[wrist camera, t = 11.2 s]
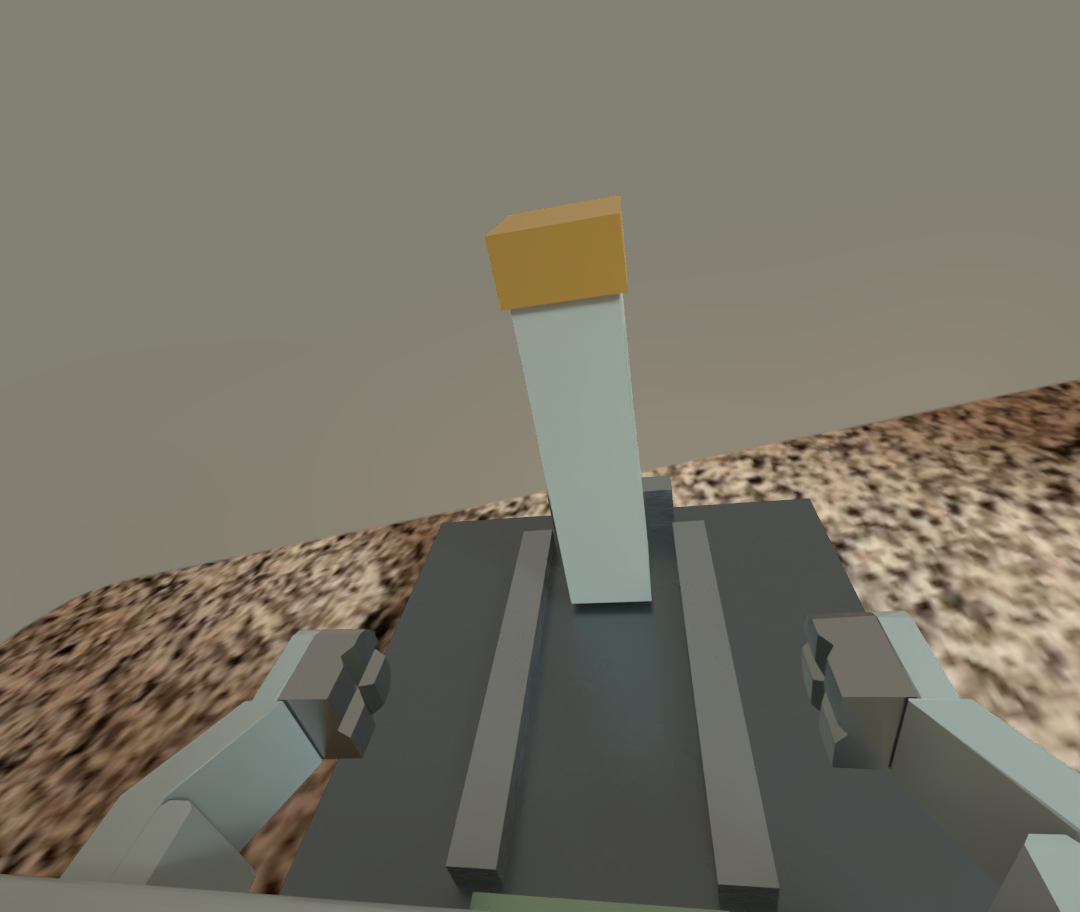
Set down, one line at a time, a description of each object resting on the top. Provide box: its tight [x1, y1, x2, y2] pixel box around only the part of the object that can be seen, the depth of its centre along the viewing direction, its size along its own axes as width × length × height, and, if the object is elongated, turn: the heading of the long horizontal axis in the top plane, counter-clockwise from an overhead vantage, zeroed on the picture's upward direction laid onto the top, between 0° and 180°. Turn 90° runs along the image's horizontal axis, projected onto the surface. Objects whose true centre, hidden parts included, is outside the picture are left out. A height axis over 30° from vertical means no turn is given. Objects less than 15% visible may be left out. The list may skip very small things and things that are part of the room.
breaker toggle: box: [485, 195, 652, 604], centre depth 17 cm, size 3×3×12 cm
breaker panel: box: [279, 475, 1000, 912], centre depth 18 cm, size 16×16×5 cm
